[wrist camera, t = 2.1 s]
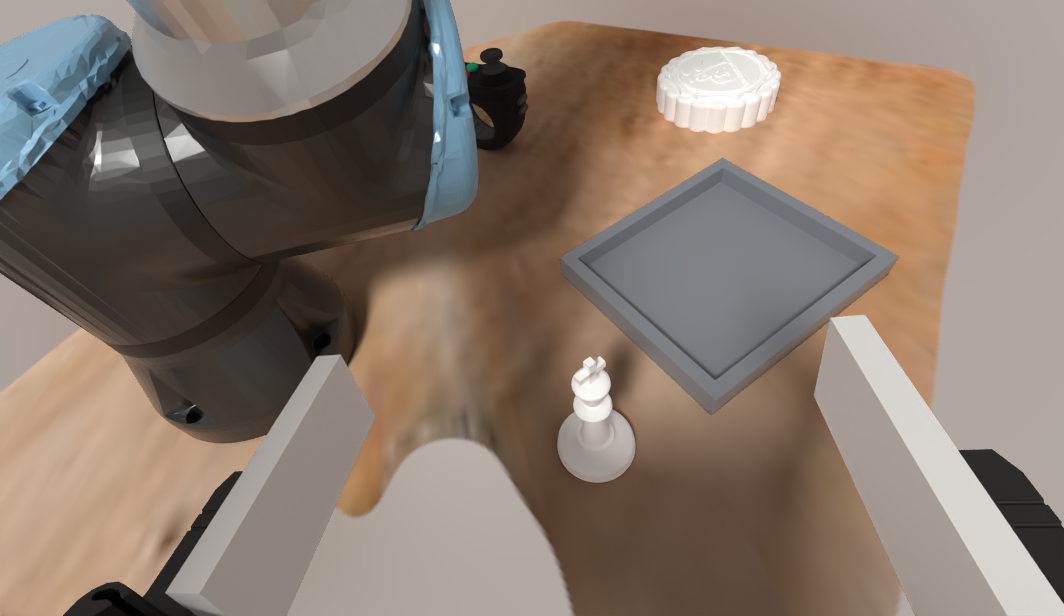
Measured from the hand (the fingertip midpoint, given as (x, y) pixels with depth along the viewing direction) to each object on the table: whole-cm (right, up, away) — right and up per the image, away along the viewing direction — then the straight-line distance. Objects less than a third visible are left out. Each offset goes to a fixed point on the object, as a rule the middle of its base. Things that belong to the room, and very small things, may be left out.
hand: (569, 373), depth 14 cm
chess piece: (+3, -7, +18) cm, 20 cm away
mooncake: (+18, +24, +40) cm, 50 cm away
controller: (-6, +20, +40) cm, 46 cm away
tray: (+13, +4, +25) cm, 29 cm away
